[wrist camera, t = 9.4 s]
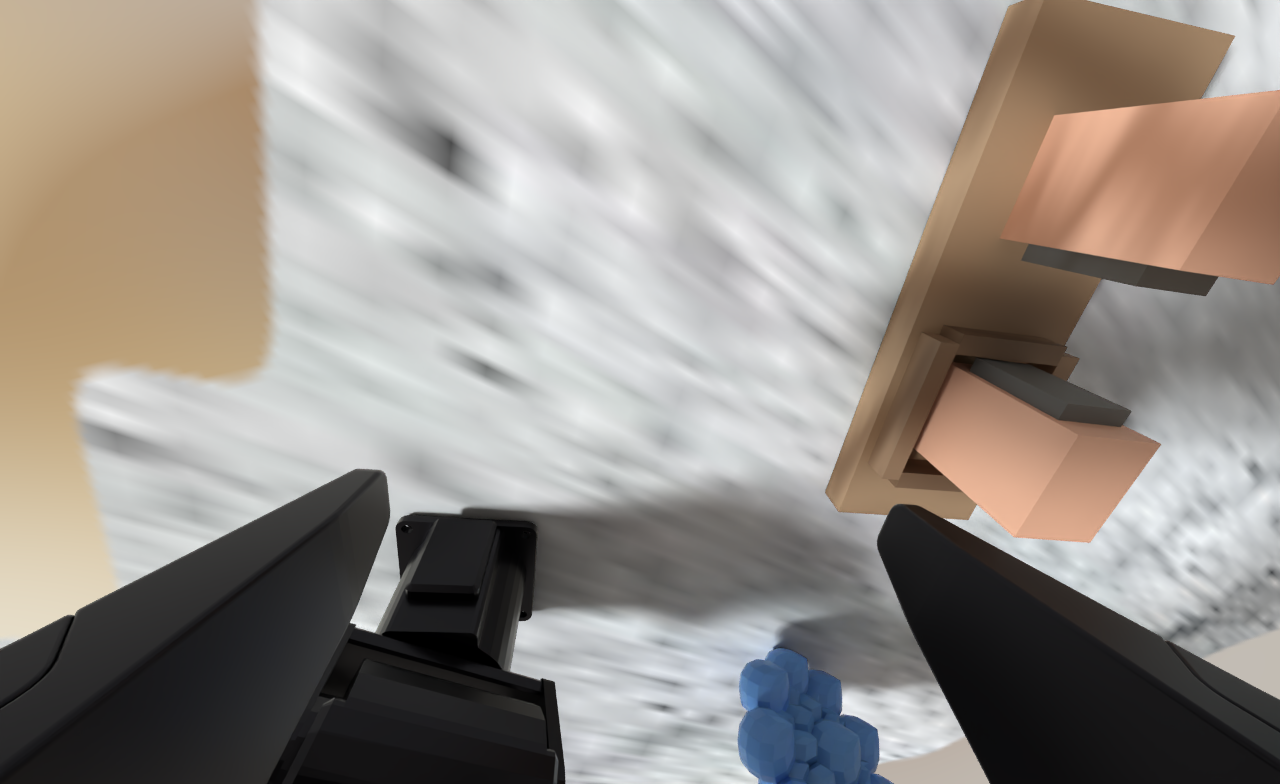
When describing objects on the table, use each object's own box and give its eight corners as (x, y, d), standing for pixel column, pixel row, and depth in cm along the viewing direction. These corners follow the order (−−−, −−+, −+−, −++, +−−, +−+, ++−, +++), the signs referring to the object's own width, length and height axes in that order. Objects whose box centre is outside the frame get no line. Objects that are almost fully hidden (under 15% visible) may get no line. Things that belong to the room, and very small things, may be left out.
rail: (948, 500, 25) (1078, 624, 18) (825, 492, 24) (914, 619, 17) (1183, 46, 17) (1585, -36, 10) (1008, 6, 16) (1320, -116, 9)
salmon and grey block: (966, 448, 22) (1089, 542, 16) (908, 442, 21) (1014, 537, 16) (1015, 355, 20) (1173, 427, 14) (951, 347, 19) (1089, 417, 14)
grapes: (664, 656, 28) (706, 954, 18) (742, 590, 27) (842, 879, 16) (790, 717, 32) (887, 992, 22) (866, 663, 30) (1014, 936, 20)
